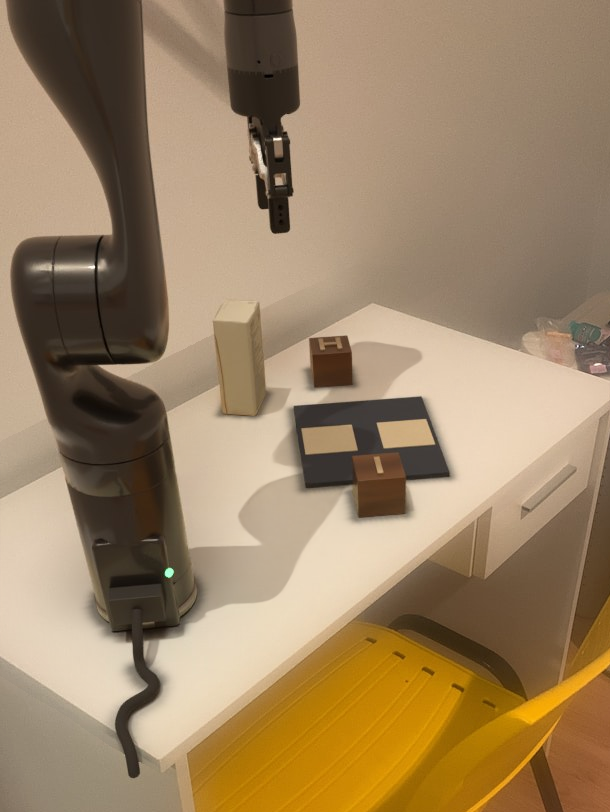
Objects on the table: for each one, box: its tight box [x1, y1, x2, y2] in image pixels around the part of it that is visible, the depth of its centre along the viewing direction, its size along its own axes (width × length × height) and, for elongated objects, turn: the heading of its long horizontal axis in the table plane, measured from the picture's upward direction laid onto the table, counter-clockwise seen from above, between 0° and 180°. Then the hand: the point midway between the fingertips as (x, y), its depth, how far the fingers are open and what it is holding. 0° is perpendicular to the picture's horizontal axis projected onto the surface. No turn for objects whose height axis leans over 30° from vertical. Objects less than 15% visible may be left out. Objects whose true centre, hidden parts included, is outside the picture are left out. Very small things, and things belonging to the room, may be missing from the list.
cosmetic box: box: [212, 298, 267, 417], centre depth 116 cm, size 6×4×12 cm
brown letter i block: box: [352, 452, 407, 518], centre depth 101 cm, size 5×5×5 cm
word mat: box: [293, 396, 450, 489], centre depth 112 cm, size 18×16×1 cm
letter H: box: [308, 335, 354, 388], centre depth 123 cm, size 5×5×5 cm
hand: (273, 219), depth 112 cm, fingers open, 8 cm apart
